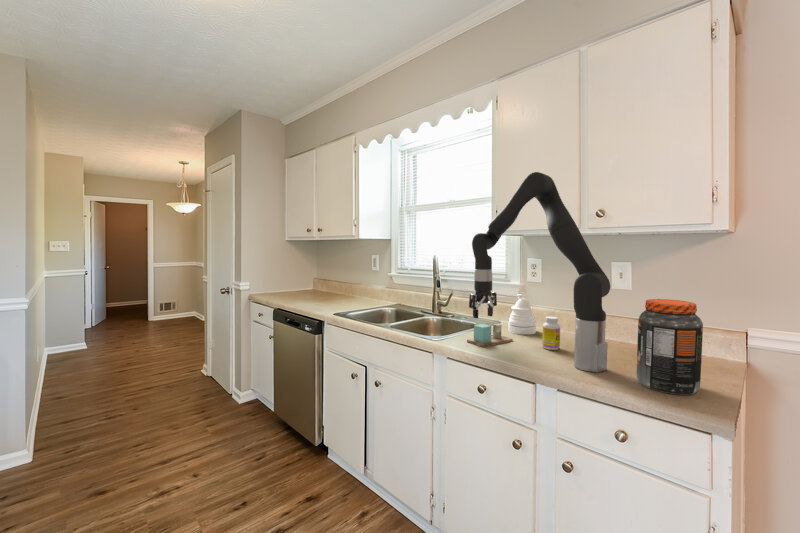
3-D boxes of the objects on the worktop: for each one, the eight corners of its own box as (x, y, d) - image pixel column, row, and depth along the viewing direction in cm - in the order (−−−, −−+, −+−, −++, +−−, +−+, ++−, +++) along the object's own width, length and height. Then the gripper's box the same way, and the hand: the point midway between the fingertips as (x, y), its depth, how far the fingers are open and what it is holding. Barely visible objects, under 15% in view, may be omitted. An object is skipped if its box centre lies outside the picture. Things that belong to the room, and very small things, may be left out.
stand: (512, 341, 163) (513, 325, 163) (483, 347, 153) (483, 330, 153) (495, 336, 172) (495, 321, 171) (466, 341, 162) (467, 326, 161)
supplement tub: (653, 373, 123) (656, 296, 121) (710, 390, 109) (715, 303, 107) (625, 382, 115) (628, 300, 113) (682, 401, 101) (687, 307, 100)
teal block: (491, 341, 159) (491, 326, 159) (482, 342, 156) (482, 327, 156) (482, 338, 164) (482, 323, 163) (473, 340, 161) (474, 325, 160)
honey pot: (502, 330, 183) (503, 294, 182) (519, 327, 190) (520, 292, 189) (524, 335, 173) (525, 297, 171) (541, 332, 180) (542, 295, 179)
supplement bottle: (557, 351, 147) (558, 319, 147) (540, 348, 151) (541, 317, 151) (561, 347, 153) (562, 317, 152) (544, 345, 157) (545, 315, 156)
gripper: (477, 281, 151) (477, 320, 152) (501, 279, 159) (501, 316, 160) (464, 280, 158) (464, 317, 159) (488, 278, 165) (488, 314, 166)
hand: (483, 317), depth 159 cm, fingers open, 8 cm apart
